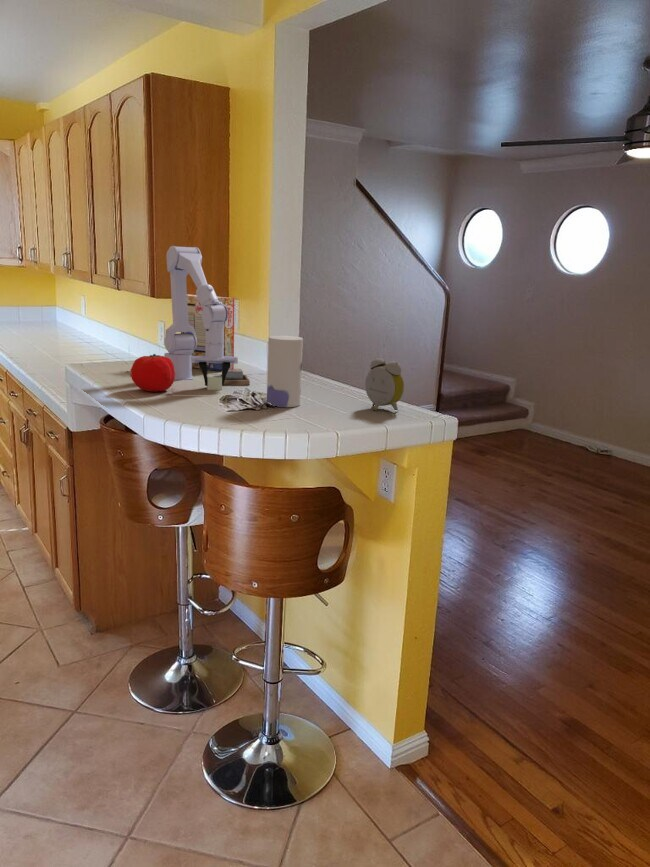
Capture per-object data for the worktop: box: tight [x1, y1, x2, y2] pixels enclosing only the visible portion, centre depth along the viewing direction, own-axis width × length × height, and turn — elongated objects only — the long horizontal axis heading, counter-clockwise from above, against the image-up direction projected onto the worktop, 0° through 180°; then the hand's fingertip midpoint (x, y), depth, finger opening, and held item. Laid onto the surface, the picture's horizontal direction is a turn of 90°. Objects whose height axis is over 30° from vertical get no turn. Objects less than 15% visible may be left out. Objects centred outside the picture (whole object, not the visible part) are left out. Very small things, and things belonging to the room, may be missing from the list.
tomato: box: [130, 353, 176, 392], centre depth 207 cm, size 12×13×12 cm
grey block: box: [225, 368, 244, 380], centre depth 226 cm, size 6×6×4 cm
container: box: [266, 334, 304, 408], centre depth 197 cm, size 10×10×20 cm
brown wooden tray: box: [210, 373, 251, 387], centre depth 226 cm, size 12×11×2 cm
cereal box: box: [180, 293, 235, 372], centre depth 249 cm, size 20×6×27 cm, turn 65°
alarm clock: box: [364, 357, 405, 411], centre depth 196 cm, size 12×7×15 cm, turn 43°
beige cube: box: [206, 374, 223, 391], centre depth 214 cm, size 4×4×4 cm
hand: (214, 385), depth 214 cm, fingers closed on beige cube, 4 cm apart
